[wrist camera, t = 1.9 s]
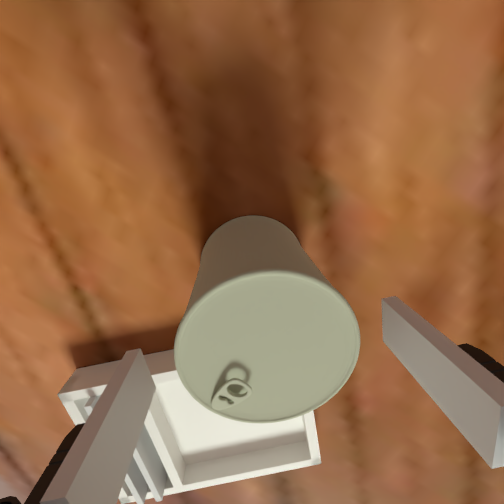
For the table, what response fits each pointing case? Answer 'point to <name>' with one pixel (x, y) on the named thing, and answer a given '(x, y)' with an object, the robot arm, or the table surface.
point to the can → (263, 327)
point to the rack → (192, 436)
